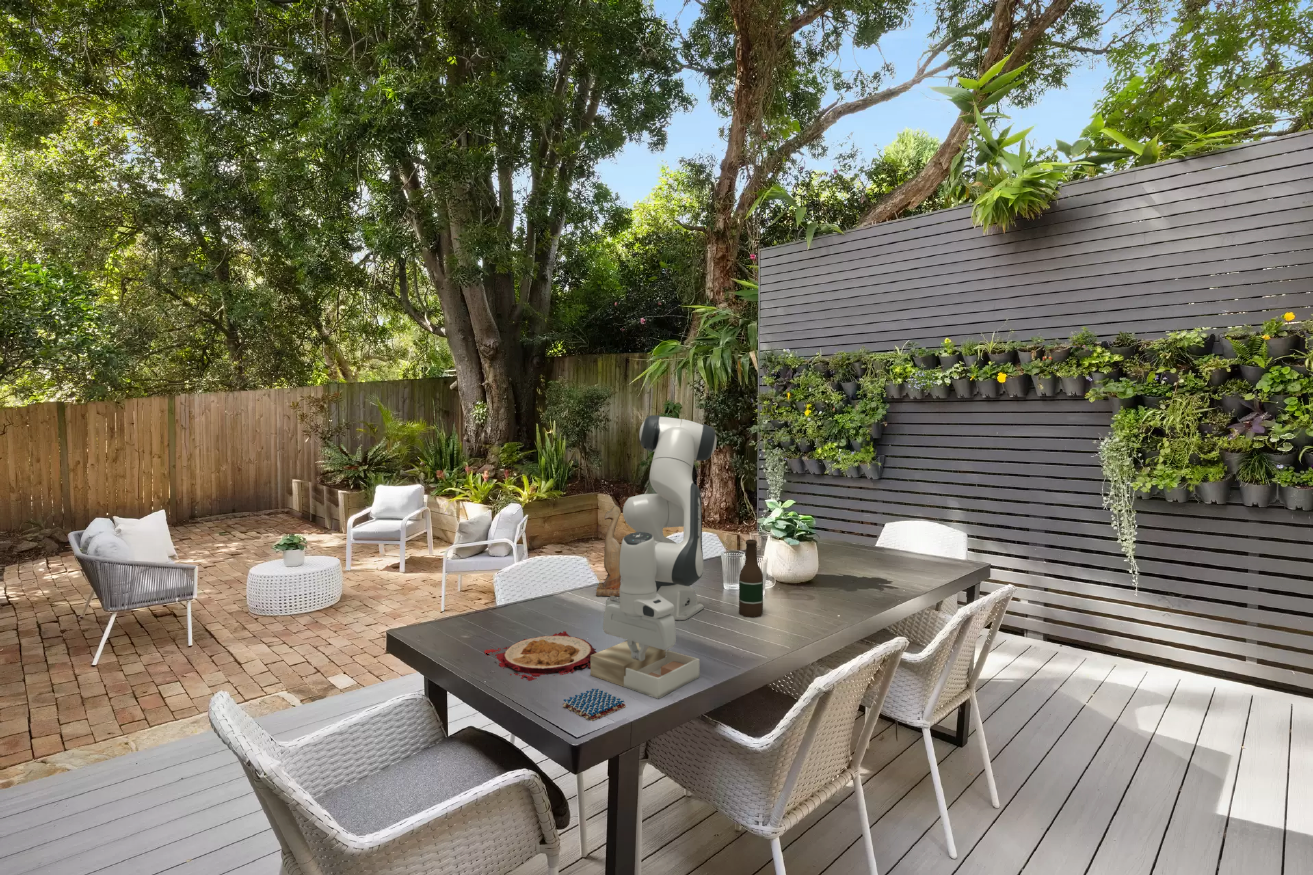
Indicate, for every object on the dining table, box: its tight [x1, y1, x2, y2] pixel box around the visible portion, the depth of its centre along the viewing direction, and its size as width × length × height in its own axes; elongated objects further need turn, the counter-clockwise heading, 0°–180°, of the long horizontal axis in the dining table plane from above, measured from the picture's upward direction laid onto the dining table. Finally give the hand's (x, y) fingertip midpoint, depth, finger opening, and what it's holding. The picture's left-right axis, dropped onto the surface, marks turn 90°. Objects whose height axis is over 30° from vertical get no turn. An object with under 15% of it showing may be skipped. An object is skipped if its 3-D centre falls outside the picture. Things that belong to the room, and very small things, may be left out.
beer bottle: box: [738, 538, 764, 619], centre depth 213 cm, size 8×8×24 cm
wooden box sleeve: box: [590, 640, 666, 688], centre depth 167 cm, size 16×11×5 cm
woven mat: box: [562, 688, 627, 722], centre depth 146 cm, size 10×11×2 cm
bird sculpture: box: [595, 504, 622, 597], centre depth 239 cm, size 11×12×32 cm
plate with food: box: [483, 630, 598, 682], centre depth 176 cm, size 25×26×4 cm
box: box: [624, 649, 700, 700], centre depth 160 cm, size 16×10×4 cm, turn 141°
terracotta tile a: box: [661, 661, 685, 676], centre depth 163 cm, size 5×5×2 cm
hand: (638, 659), depth 159 cm, fingers closed
